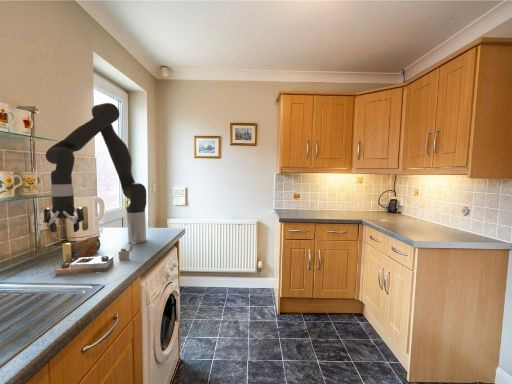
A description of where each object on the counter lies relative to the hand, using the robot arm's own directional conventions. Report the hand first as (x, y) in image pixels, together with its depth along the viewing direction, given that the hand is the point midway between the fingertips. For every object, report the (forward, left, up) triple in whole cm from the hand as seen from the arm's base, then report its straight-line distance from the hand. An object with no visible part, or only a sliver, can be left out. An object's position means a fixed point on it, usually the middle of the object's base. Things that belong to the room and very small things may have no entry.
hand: (65, 231), depth 108 cm
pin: (0, 0, -14) cm, 14 cm away
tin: (-9, +3, -15) cm, 17 cm away
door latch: (+8, +11, -14) cm, 20 cm away
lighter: (-2, +24, -15) cm, 28 cm away
